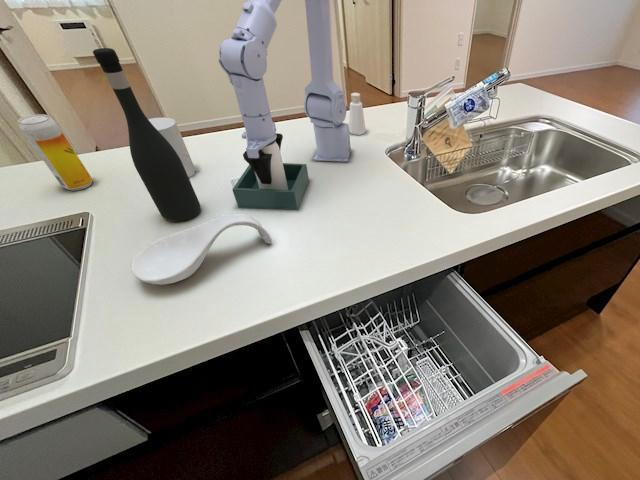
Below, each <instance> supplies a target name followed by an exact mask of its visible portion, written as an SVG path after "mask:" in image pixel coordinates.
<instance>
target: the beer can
mask: <svg viewBox="0 0 640 480" xmlns="http://www.w3.org/2000/svg"><path fill="white" fill-rule="evenodd" d="M17 123H18V128H19V130H20V131H21V133H22V134H23V135H24V137H25V138H26V139H27V140H28V142H29V144H30V145H31V146H32V148H33V149H34V150H35V152H36V153H37V154H38V156H39V157H40V159H41V160H42V161H43V162H44V164H45V166H46V167H47V168H48V170H49V171H50V172H51V173H52V175H53V177H55V179H56V180H57V182H58V183H59V184H60V186H61V187H62V188H64V189H67V191H73V192H75V191H80V190H84V189H87V188H89V187H91V185H92V184H93V182H92V181H93V177H92V176H91V174H90V172H89V171H88V170H87V168H86V166H85V165H84V163H83V162H82V160H81V159H80V158H79V156H78V154H77V153H76V151H75V150H74V148H73V146H72V145H71V143H70V142H69V140H68V138H66V136H65V134H64V133H63V131H62V129H61V128H60V127H59V125H58V123H57V122H56V120H54V118H52V117H51V116H50V115H48V114H43V113H40V114H39V113H38V114H31V115H26V116H23V117H21V118H19V119H17Z"/></svg>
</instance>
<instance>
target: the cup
mask: <svg viewBox="0 0 640 480" xmlns="http://www.w3.org/2000/svg"><path fill="white" fill-rule="evenodd" d="M147 119H148V120H149V121H150V122H151V124H152V125H153V126H154V127H155V128H156V129H157V130H158V131H159V132H160V133H161V134H162V135H163V137H164V138H165V139H166V140H167V141H168V142H169V143H170V145H171V146H172V147H173V149H174V150H175V151H176V153H177V154H178V156H179V158H180V159H181V161H182V164H183V166H184V168H185V171H186V173H187V175H188V178H189V179H190V178H191V177H193V176H194V175H195V174H196V171H197V170H196V167H195V165H194V163H193V160H192V158H191V155H190V153H189V151H188V148H187V146H186V142H185V141H184V138H183V136H182V134H181V131H180V129H179V126H178V124H177V122H176V120H175V119H174V118H172V117H163V116H162V117H153V118H147Z"/></svg>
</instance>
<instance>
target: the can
mask: <svg viewBox="0 0 640 480" xmlns="http://www.w3.org/2000/svg"><path fill="white" fill-rule="evenodd" d="M261 150H262V152H264V154H272V157H271V165H270V166H271V177H272V183H271V184H262V183H261V181H260V180H259V178H258V176H257V174H256V173H255V175H256V178H257V182H258V185H259V189H273V190H288V186H287V181H286V176H285V171H284V167H283V163H284V162H283V159H282V152H281V148H280V149H279V146H278V144H277V143H276V140H274V141H273V142H271V143H269V144H268V145H266V146H265V147H263V148H261Z"/></svg>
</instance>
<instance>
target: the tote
mask: <svg viewBox="0 0 640 480" xmlns="http://www.w3.org/2000/svg"><path fill="white" fill-rule="evenodd" d="M283 167H284V171H285V176H286V181H287V186H288V190H273V189H259V185H258V182H257V178H256V175H255V171H254V169H253V168H252V167H251V166H250V164H249V163H248V165H247V167H246V169H245V170H244V172H243V173H242V174H241V176H240V177H239V178H238V181H237V182H236V183H235V184H234V186H233V187H232V193H233V196H234V200H235V202H236V204H237V208H244V209H266V210H267V209H269V210H270V209H271V210H294V211H298V210H299V207H300V206H301V202H302V199H303V197H304V195H305V193H306V190H307V187H308V185H309V182H310V177H309V173H308V167H307V163H292V162H291V163H290V162H283Z"/></svg>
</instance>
